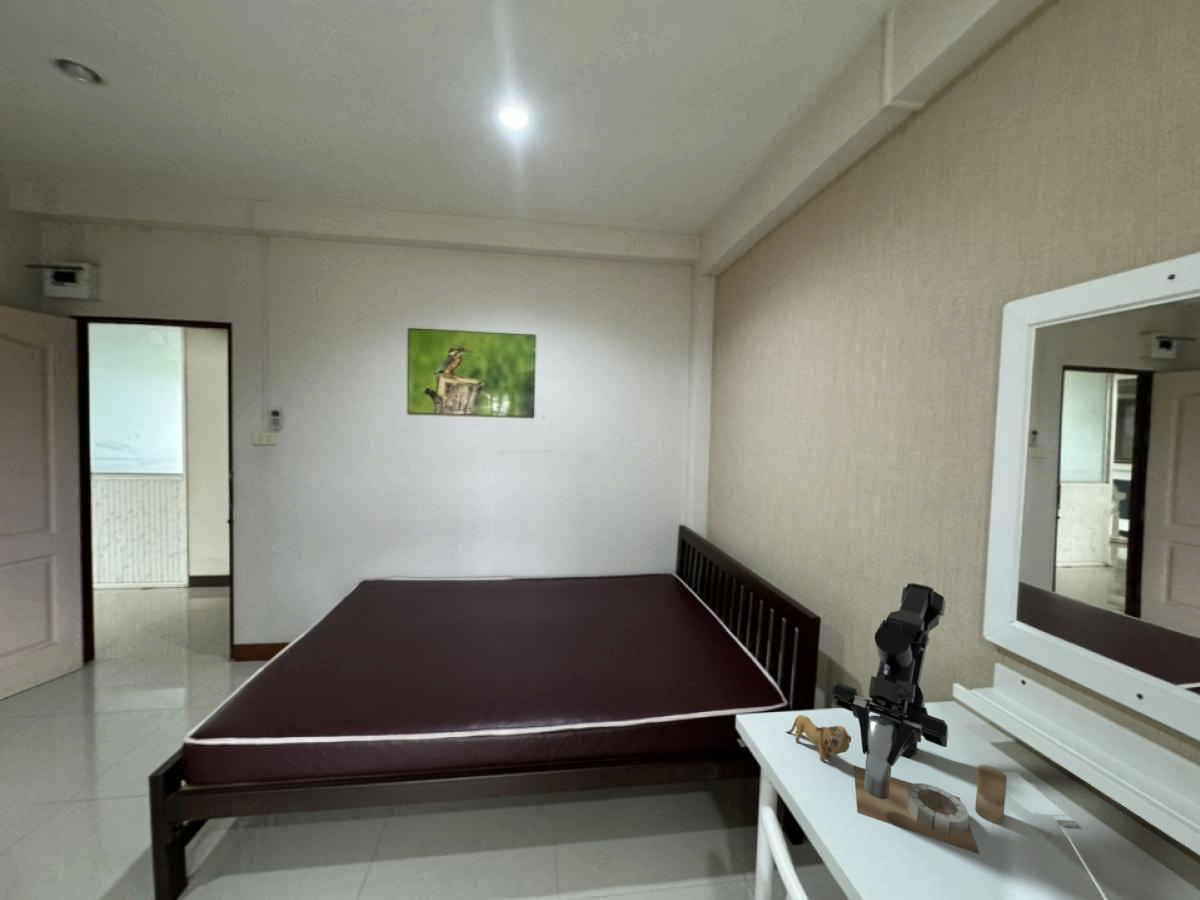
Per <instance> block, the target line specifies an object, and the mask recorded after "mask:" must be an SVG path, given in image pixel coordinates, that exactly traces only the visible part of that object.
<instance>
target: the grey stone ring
mask: <svg viewBox="0 0 1200 900" xmlns="http://www.w3.org/2000/svg"><path fill="white" fill-rule="evenodd" d="M954 796H955V795H953V794H951V793H950V792H948V791H946V790H945V789H942V788H939V787H937V786H934V785H931V784H928V783H923V782H922V783H920V782H919V783H913V784H912V785H910V786H909V787H908V788H907V796H906V804H907V808H908V811H909V812H910V813H911V814H912V815H913V816H914V817H915V818H916V820H918V821H919V822H920V823H922V824H924V825H925V826H927V827H928V828H930V829H932V830H934V831H936V832H939V833H942V834H945V835H948V836H949V835H950V836H962V835H963V834H964V833H965V832H966V831H967V830H968V823H969V817H970V815H969V812H968V809H967V807H966V805H964V803H962V802H960V801H961V800H960V801H959V800H958V799H957V798H956V797H957V796H956V797H954ZM922 802H929V803H932V804H935V805H938V806H940V807H942V808H943V809H945V810H947V811H948V812H949V813H950V814H951V815H945V814H941V813H938V812H935V811H933V810H932V809H930V808H928V807H927V806H925V805H924V804H923V803H922Z"/></svg>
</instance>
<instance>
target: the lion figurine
mask: <svg viewBox="0 0 1200 900" xmlns="http://www.w3.org/2000/svg"><path fill="white" fill-rule="evenodd" d="M795 729H796V731H795V735H796V736H795V739H794V740H795V744H798V745H799V744H800V739H801V737H802V736H803V733H804V734H805V735H806V737H807V739H808V740H809V742H811V743H812V744H813V745H814V746H816V747H818V750H819V760H820V762H821V763H825V762H826V758H829V757H830V755H831V756H833V757H835V756H836V755H838V754H841V753H846V752H848V750H849V748H850V743H852V737H851V736H850V735H849V733H848V731H847V729H846V728H845V727H844V726H842V725H833V726H827V727H826V726H821V727H819V726H817V725H816V724H814V723H813V722H812V720H811V719H810V718H809V717H808V716H806V715H803V714H798V715H797V716H796V717H795V720H794V722H793V724H792V727H791V729H789V730H788V731H785V733H786V734H788V735H791V734H793V732H794V730H795Z"/></svg>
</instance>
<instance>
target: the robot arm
mask: <svg viewBox="0 0 1200 900" xmlns="http://www.w3.org/2000/svg"><path fill="white" fill-rule="evenodd" d="M900 603H901V604H900V607H899V609H898V610H896V611H890V612H889V614H888V616H886V619H883V620H882V621H881V623H880V625H879V627H878V628H877V630H876V632H874V633H875V634H874V642H875V646H876V649H877V654H878V657H879V664H878V668H877V669H878V670H877V673H876V676H874V675H871V678H870V682H869V688H868V696H869V698H871V700H870V699H867V698H864V697H862V696H860V695H859V694H858V692H857V688H854V687H851V686H849V685H846V684H843V683H840V682H836V683H834V684H833V685H832V688H831V691H830V695H831V699H832V700H833V703H834V705H835V706H837V707H839V708H842V709H845V710H847V711H850V712H852V715H853V717H854V718H856V719H857V720H858V724H859V729H860V739H861V741H860V742H861V748H862V754H863V755H866V754H867V740H868V727H869V717H870V714H871V713H872V714H875V715H877V716H881V717H884V718H887V719H888V720H890V721H891V722H893V724H894V739H893V751H892V754H891V759H890V765H891V767H893V766H894V765H895V764H896V763H897V761H898V760H899V759H900V757H904V758H908V759H912V758H913V756H914V755H915V756H916V754H917V752H919V750H918V743H922V737H923V739H925V741H927V742H930V743H932V744H935V745H938V746H940V747H943V748H947V747H948V740H949V726H948V724H947V723H946V721H945V720H944V719H941V718H938V717H935V716H932V715H930V714H929V713H928V712H929V711H928V708H927V707H925V705H926V704H925V699H924V698H925V697H924V694H923V692H922V689H921V687H920V684H921V679H922V678H921V677H922V673H923V666H924V661H925V656H926V651H927V647H928V645H929V643H930V637H929V635H930V632H931V630H934V628H936V627H938V626H939V624H940V620H941V616H942V617H944V615H945V610H946V600H945V597H944V596H943V595H941V594H939V593H938V592H936V591H935V590H934V588H933V587H931V586H928V585H924V584H920V583H919V584H918V583H916V582H915V583H914V582H910V583H907V586H905V587H903V588H902V594H901V599H900Z"/></svg>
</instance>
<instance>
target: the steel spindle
mask: <svg viewBox="0 0 1200 900" xmlns="http://www.w3.org/2000/svg"><path fill="white" fill-rule="evenodd" d="M893 739H894V724H893V722H891V721H890V720H888V719H887V718H884V717H881V716H880V715H877V714H875V715H869V727H868V740H867V751H866V754H865V755H866V757H865V768H864V769H865V781H864V788H865V790H866V791H867V792H868V793H869V794H870V795H872V796H874V797H876V798H879V799H887V798H888V797H889V791H890V778H891V777H892V766H891V765H890V759H891V754H892V751H893Z"/></svg>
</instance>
